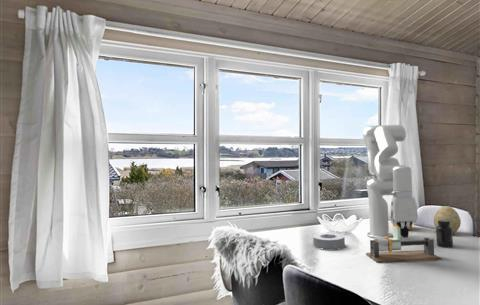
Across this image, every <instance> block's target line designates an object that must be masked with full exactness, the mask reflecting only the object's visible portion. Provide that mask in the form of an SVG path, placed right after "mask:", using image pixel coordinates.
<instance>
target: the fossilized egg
mask: <svg viewBox="0 0 480 305" xmlns="http://www.w3.org/2000/svg"><path fill="white" fill-rule="evenodd" d="M438 220H447V221H450V225H449V226H450V227H451V228H452V234H454V233H456V232H458V230H459V229H460V227H461V222H462V221H461V217H460V215H459V213H458V212H457V211H456V210H455V209H454V208H453V207H452V206H448V205H444V206H442V207H440V208H438V209H437V211H436V212H434V216H433V223H434V226H435V228H436V227H437V226H439V225H438Z"/></svg>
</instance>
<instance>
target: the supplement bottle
mask: <svg viewBox="0 0 480 305" xmlns="http://www.w3.org/2000/svg"><path fill="white" fill-rule="evenodd" d="M438 225H439V226H437V227H436V226H435V233H436V234H435V236H436V237H435V239H436V240H435V241H436V246H437V247H439V248H452V247H453V246H454V240H453V239H454V238H453V237H454V235H453V234H454V233H452V228H451V227H450V226H449V225H450V221H447V220H438Z"/></svg>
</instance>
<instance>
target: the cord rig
mask: <svg viewBox="0 0 480 305" xmlns="http://www.w3.org/2000/svg"><path fill="white" fill-rule="evenodd" d="M434 240H435V239H432V238H430V237H423V240H422V239H421V240H420V239H419V240H401V247H407V246H408V247H409V246H423V249H420V250H418V249H417V250H392V239H390V238H388V237H384V238H383V237H382V238H373V239H372V240H371V239H370V240H369V246H370V252H365V255H366V256H367V257H368V258H369V259H371V260H372V259H373V260H372V261H374V262H375V261H376V262H375V263H377V264H384V263H383V262H386V263H403V262H404V263H406V262H422V261H423V262H424V261H425V262H426V261H441V259H442V258H441V257H440V256H438V255H436V254H435V242H434Z"/></svg>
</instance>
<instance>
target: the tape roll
mask: <svg viewBox="0 0 480 305" xmlns="http://www.w3.org/2000/svg"><path fill="white" fill-rule="evenodd" d="M345 239H346V238H345V236H344V234H340V233H337V232H336V233H335V232H319V233H315V234H314V235H313V237H312V241H313V242H312V243H313V244H312V246H313V245H314V246H315V247H318V248H323V249H322V250H324V249H336V250H339V249H338V248H342V249H344V248H345V247H346V244H345ZM314 246H313V247H314ZM315 247H314V248H315ZM343 247H344V248H343ZM318 248H317V249H318Z"/></svg>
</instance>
